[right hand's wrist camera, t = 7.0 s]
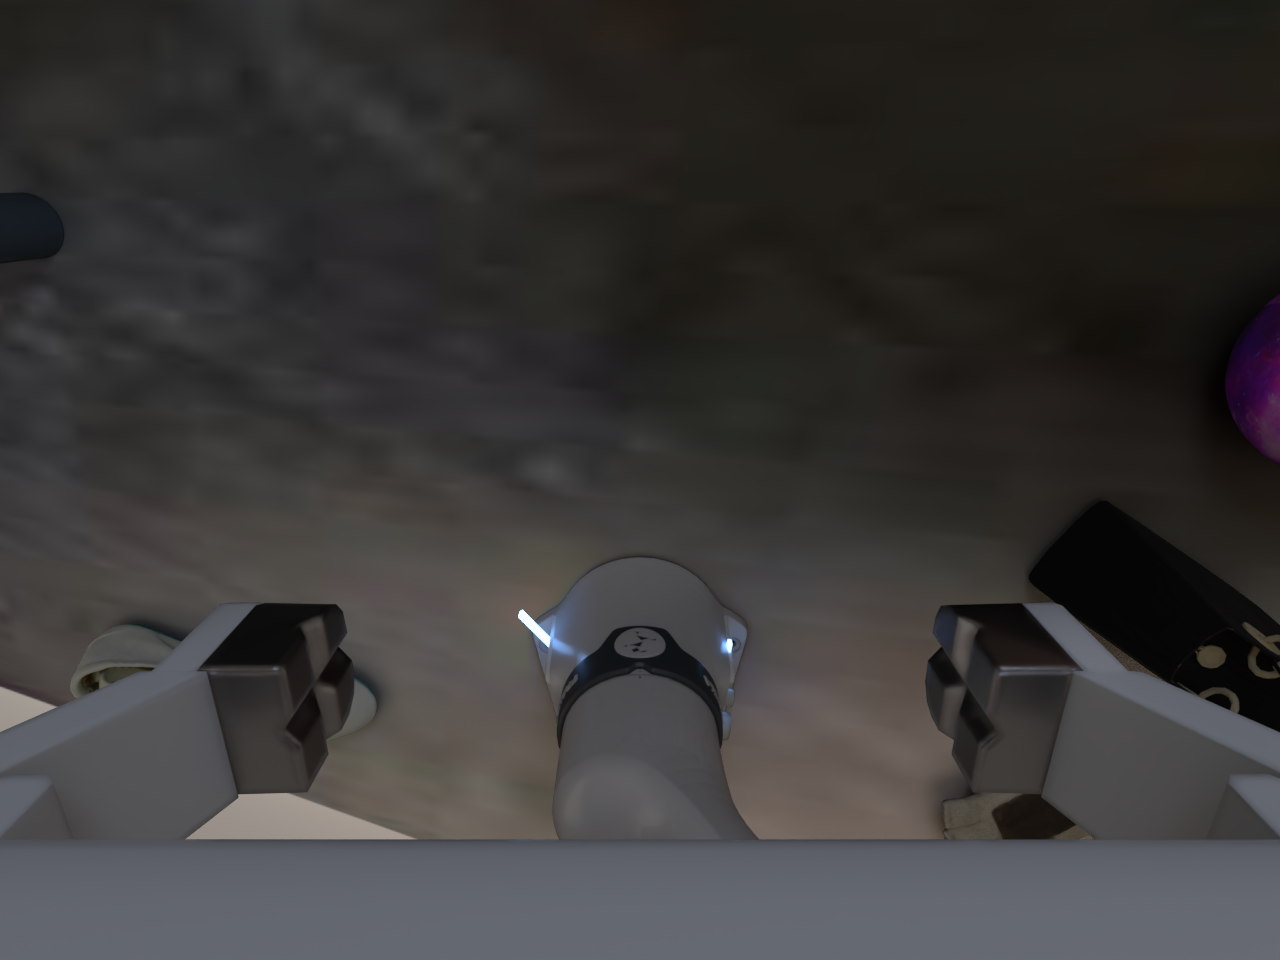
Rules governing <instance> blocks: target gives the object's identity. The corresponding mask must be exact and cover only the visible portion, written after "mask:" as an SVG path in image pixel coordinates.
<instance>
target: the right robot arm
mask: <svg viewBox="0 0 1280 960" xmlns="http://www.w3.org/2000/svg"><path fill="white" fill-rule="evenodd" d="M518 617H519V618H520V619H521V620H522V621H523V622H524V623H525V624H526V625H527V626H528V627H529V628H530V629H531V630H532V631H533V639H534V642H535V645H536V649H537V652H538V656H539V659H540V662H541V666H542V669H543V673H544V676H545V679H546V683H547V686H548V690H549V693H550V696H551V700H552V703H553V707H554V710H555V713H556V717H557V723H558V724H557V739H558V745H559V748H560V753H559V760H558V767H557V774H556V781H555V789H554V796H553V803H552V814H553V821H554V826H555V829H556V833H557V836H558V838H559V840H248V839H247V840H246V839H245V840H244V839H242V840H241V839H238V840H237V839H236V840H234V839H233V840H232V839H231V840H229V839H228V840H227V839H225V840H224V839H220V840H219V839H217V840H215V839H214V840H210V839H205V840H204V839H201V840H200V839H196V840H194V839H191V840H190V839H186V838H187V837H188V836H190V835H191V834H192V833H194V832H195V831H196V830H197V829H199V828H200V827H201V826H203V825H204V824H205V823H206V822H208V821H209V820H210V819H212V818H213V817H214V816H215V815H217V814H218V813H219V812H221V811H222V810H223V809H224V808H226V807H227V806H228V805H230V804H231V803H232V802H233V801H235V800H236V799H237V798H238V794H263V793H298V792H308V790H309V788H310V786H311V785H312V783H313V781H314V779H315V777H316V775H317V774H318V772H319V770H320V768H321V766H322V765H323V763H324V761H325V759H326V757H327V756H328V749H327V744H326V740H327V739H328V738H330V737H331V736H333V735H335V734H336V733H338V732H339V731H341V730H342V728H343V726H344V724H345V722H346V720H347V718H348V716H349V714H350V710H351V705H352V701H353V697H354V671H353V664H352V660H351V659H350V658H349V657H348V656H347V655H346V654H345V653H344V652H343V651H342V650H341V649H340V648H339V647H338V646H339V645H340V643H341V642H342V640H343V638H344V637H345V635H346V634H347V629H346V624H345V620H344V615H343V611H342V610H341V609H340V608H339V607H338V606H337V605H336V604H291V603H263V604H262V603H260V602H253V603H226V604H220V605H218V606H217V607H216V608H215V609H214V610H213V611H212V612H211V613H210V614H209V615H208V616H207V617H206V618H205V619H204V620H203V621H202V622H201V623H200V624H199V625H198V626H197V627H196V628H195V629H194V630H193V631H192V632H191V633H190V634H189V635H188V636H187V637H186V638H185V639H184V640H183V641H182V642H181V643H180V644H179V645H178V646H177V647H176V648H175V649H174V650H173V651H172V652H171V653H170V654H169V655H168V656H167V657H165V658H164V659H163V660H162V661H161V662H160V663H159V664H158V665H157V666H156V667H155V668H154V669H153V670H152V671H139V672H137V673H134V674H132V675H130V676H127V677H125V678H123V679H121V680H118V681H116V682H114V683H111V684H109V685H107V686H105V687H102V688H100V689H98V690H95V691H93V692H91V693H89V694H86V695H84V696H82V697H80V698H77V699H75V700H73V701H70V702H68V703H66V704H64V705H61V706H59V707H57V708H54V709H52V710H50V711H48V712H45V713H43V714H41V715H38V716H36V717H34V718H32V719H29V720H27V721H25V722H22V723H20V724H18V725H16V726H13V727H11V728H9V729H7V730H4V731H2V732H0V960H1280V732H1278V731H1275V730H1273V729H1271V728H1269V727H1266V726H1264V725H1262V724H1259V723H1257V722H1255V721H1253V720H1250V719H1248V718H1246V717H1244V716H1241V715H1239V714H1237V713H1234V712H1232V711H1230V710H1228V709H1225V708H1223V707H1221V706H1219V705H1216V704H1214V703H1212V702H1209V701H1207V700H1205V699H1203V698H1200V697H1198V696H1196V695H1193V694H1191V693H1189V692H1187V691H1184V690H1182V689H1180V688H1178V687H1175V686H1173V685H1171V684H1168V683H1166V682H1164V681H1162V680H1159V679H1157V678H1155V677H1153V676H1150V675H1148V674H1146V673H1143V672H1141V671H1128V670H1127V669H1126V668H1125V667H1124V666H1123V665H1122V664H1121V663H1120V662H1119V661H1118V660H1117V659H1116V658H1115V657H1114V656H1113V655H1112V654H1111V653H1110V652H1109V651H1108V650H1107V649H1106V648H1104V647H1103V646H1102V645H1101V644H1100V643H1099V642H1098V641H1097V640H1096V639H1095V638H1094V637H1093V636H1092V635H1091V634H1090V633H1089V632H1088V631H1087V630H1086V629H1085V628H1084V627H1083V626H1082V625H1081V624H1080V623H1079V622H1078V621H1077V620H1076V619H1075V618H1074V617H1073V616H1072V615H1071V614H1070V613H1069V612H1068V611H1067V610H1066V609H1065V608H1064V607H1063V606H1062V605H1059V604H1056V603H1053V602H1043V603H1015V604H974V605H945V606H941V607H940V609H939V611H938V613H937V615H936V618H935V623H934V629H933V634H934V635H935V637H936V638H937V640H938V642H939V643H940V645H941V646H942V647H941V648H940V649H939V650H938V651H937V652H936V653H935V654H934V655H933V656H932V657H931V658H930V659H929V660H928V665H927V673H926V680H925V684H926V695H927V703H928V707H929V710H930V713H931V716H932V718H933V720H934V722H935V724H936V726H937V728H938V730H939V731H941V732H942V733H944V734H945V735H947V736H949V737H950V738H952V739H953V740H954V744H953V749H952V756H953V757H954V759H955V761H956V763H957V765H958V766H959V768H960V770H961V772H962V774H963V775H964V777H965V779H966V781H967V783H968V784H969V786H970V788H971V790H972V792H980V793H1017V794H1042V796H1041V797H1042V798H1043V799H1044V800H1046V801H1047V802H1048V803H1049V804H1051V805H1052V806H1053V807H1055V808H1056V809H1057V810H1058V811H1060V812H1061V813H1062V814H1064V815H1065V816H1066V817H1067V818H1069V819H1070V820H1071V821H1072V822H1074V823H1075V824H1076V825H1078V826H1079V827H1080V828H1081V829H1083V830H1084V831H1085V832H1087V833H1088V834H1089V835H1090V836H1092V837H1093V838H1094V839H1096V840H759V839H758V838H757V836H756V835H755V834H754V833H753V832H752V830H751V829H750V828H749V827H748V825H747V824H746V823H745V821H744V820H743V818H742V817H741V815H740V814H739V812H738V810H737V808H736V807H735V805H734V802H733V800H732V797H731V794H730V790H729V787H728V783H727V779H726V775H725V771H724V767H723V762H722V756H721V751H720V749H721V745H722V740H726V739H728V738H729V735H730V730H731V715H730V713H728V712H725V710H726V707H727V706H728V707H729V706H730V707H731V706H733V703H734V690H732V686H733V683H734V679H735V676H736V673H737V669H738V666H739V662H740V659H741V656H742V652H743V649H744V645H745V642H746V639H747V624H746V622H745V621H744V620H743V619H742V618H741V617H740V616H738V615H737V614H735V613H734V612H732V611H730V610H728V609H727V608H725V607H723V606H722V605H721V604H720V603H719V602H718V601H717V600H716V598H715V597H714V596H713V594H712V593H711V591H710V590H709V589H708V587H707V586H706V585H705V584H704V583H703V582H702V581H701V580H700V579H699V578H698V577H697V576H695V575H694V574H693V573H691V572H690V571H688V570H686V569H685V568H683V567H681V566H679V565H676V564H674V563H671V562H668V561H665V560H661V559H655V558H647V557H633V558H625V559H619V560H615V561H612V562H609V563H606V564H604V565H601V566H599V567H597V568H595V569H594V570H592V571H590V572H589V573H587V574H586V575H585V576H583V577H582V578H581V579H580V580H579V581H578V582H577V583H576V584H575V585H574V586H573V587H572V589H571V590H570V591H569V593H568V594H567V596H566V597H565V598H564V600H563V601H562V602H561V603H560V604H559V605H558V606H557V607H555V608H553V609H552V610H550V611H548V612H547V613H545V614H543V615H542V616H540V617H539V618H538V619H537V620H536V621H535V622H534V621H533V620H532V619H531V618H530V617H529V616H528V615H527V614H526V613H525V612H524V611H523V610H521V611H520V612H519V616H518ZM732 640H733V641H734V642H733V643H732Z"/></svg>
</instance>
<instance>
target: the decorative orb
mask: <svg viewBox="0 0 1280 960" xmlns="http://www.w3.org/2000/svg"><path fill="white" fill-rule="evenodd" d="M1225 390H1226V397H1227V403H1228V406H1229V409H1230V412H1231V415H1232V417H1233V419H1234V421H1235V423H1236V425H1237V426H1238V428H1239V430H1240V431H1241V432H1242V434H1243V435H1244V437H1245V438H1246V439H1247V440H1248V441H1249V442H1250V443H1251V444H1252V445H1253V446H1254V447H1255V448H1256V449H1257V450H1258V451H1259V452H1260V453H1262V454H1263V455H1264V456H1266V457H1267V458H1268V459H1270V460H1271V461H1273V462H1275V463H1276V464H1278V465H1280V294H1278V295H1277V296H1276V297H1274V298H1273V299H1272V300H1270V301H1269V302H1268V303H1267V304H1266V305H1265V306H1263V307H1262V308H1261V309H1260V310H1259V311H1258V312H1257V313H1256V314H1255V315H1254V316H1253V318H1252V319H1251V320H1250V321H1249V322H1248V324H1247V325H1246V326H1245V328H1244V329H1243V331H1242V332H1241V334H1240V335H1239V337H1238V339H1237V340H1236V342H1235V344H1234V347H1233V349H1232V351H1231V354H1230V357H1229V360H1228V364H1227V369H1226V377H1225Z"/></svg>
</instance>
